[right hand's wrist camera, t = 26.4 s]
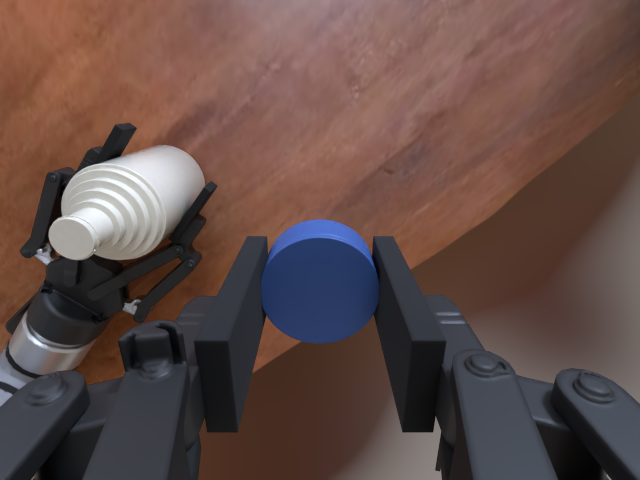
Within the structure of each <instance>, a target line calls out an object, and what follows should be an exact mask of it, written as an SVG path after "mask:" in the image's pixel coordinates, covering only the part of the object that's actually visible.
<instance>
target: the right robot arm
mask: <svg viewBox="0 0 640 480" xmlns="http://www.w3.org/2000/svg"><path fill="white" fill-rule="evenodd" d="M267 258H268V246H267V236H247V238H246V240H245V242H244V244H243V246H242V248H241V250H240V252H239V254H238V256H237V258H236V260H235V261H234V263H233V265H232V267H231V269H230V271H229V273H228V275H227V277H226V279H225V281H224V283H223V285H222V287H221V289H220V291H219V293H218V295H217V296H197V297H196V298H194V299H193V300H191V301H190V302H189V303H187V304H186V305H185V306H184V308H183V309H182V311H181V312H180V314H179V317H177V319H176V320H175V322H173V321H170V320H155V321H150V322H145V323H143V324H140V325H138V326H135V327H133V328H131V329H130V330H128V331H127V332H125V333H124V334H123V335H122V336H121V338H120V339H119V340H118V343H119V347H120V351H121V355H122V360H123V364H124V368H125V374H124V376H123V377H120V378H117V379H113V380H109V381H104V382H100V383H95V384H91V385H86V381H85V378H84V376H83V375H82V374H81V373H80V372H77V371H72V370H63V371H56V372H52V373H49V374H45V375H42V376H40V377H38V378H36V379H34V380H32V381H30V382H28V383H27V384H26V385H24V386H23V387H22V388H20V389H19V390H18V391H17V392H15V393H14V394H13V395H12V396H11V397H10V398H9V399H8V400H7V401H6V402H5V403H4V404H3V405H2V406H0V480H31V479H32V477H33V476H35V478H34V479H33V480H198V474H199V464H200V454H201V444H200V437H199V431H200V428H201V426H202V423H203V420H204V417H205V421H206V428H207V432H238V429H239V425H240V421H241V416H242V412H243V408H244V404H245V400H246V396H247V392H248V387H249V384H250V380H251V375H252V371H253V367H254V363H255V359H256V355H257V351H258V347H259V343H260V339H261V334H262V330H263V326H264V322H265V318H266V313H265V311H264V309H263V307H262V297H261V276H262V273H263V270H264V267H265V264H266V261H267ZM372 259H373V262H374V265H375V268H376V271H377V274H378V278H379V282H380V285H379V300H378V306H377V308H376V310H375V313H374V317H375V321H376V325H377V329H378V334H379V338H380V341H381V346H382V350H383V354H384V358H385V362H386V366H387V370H388V375H389V379H390V383H391V387H392V391H393V395H394V399H395V403H396V407H397V411H398V416H399V420H400V424H401V428H402V432H433V429H434V422H435V416H436V418H437V420H438V423H439V426H440V429H441V437H440V443H439V450H438V456H437V462H436V469H435V470H436V471H440V469H441V473H442V480H609V479H608V478H607V477H606V475H607V474H608V476H609V477H610V478H611V479H612V480H640V404H639V403H638V402H637V401H636V400H635V399H634V398H633V397H632V396H630V395H629V394H628V393H627V392H626V391H625V390H624V389H623V388H621V387H620V386H619V385H617V384H616V383H615V382H613V381H612V380H610V379H608V378H606V377H604V376H602V375H600V374H597V373H594V372H591V371H587V370H583V369H573V368H571V369H566V370H562V371H561V372H559V373H558V374H557V375H556V379H555V382H554V384H552V383H548V382H543V381H538V380H534V379H529V378H525V377H522V376H518V375H516V373H515V371H514V370H513V368H512V367H511V365H510V364H509V363H508V362H507V361H505V360H504V359H503V358H501V357H500V356H498V355H496V354H493V353H491V352H489V351H485V349H484V347H483V346H482V344H481V343H480V341H479V340H478V338H477V337H476V335H475V334H474V332H473V331H472V329H471V327H470V326H469V324H467V321H466V320H465V318H464V317H463V316H462V314H461V312H460V310H459V309H458V307H457V306H456V304H455V303H454V302H452V301H451V300H449V299H448V298H446V297H445V296H444V295H423V294H422V292H421V290H420V288H419V286H418V284H417V282H416V280H415V279H414V277H413V275H412V273H411V271H410V269H409V267H408V265H407V263H406V261H405V259H404V257H403V255H402V253H401V251H400V249H399V247H398V245H397V243H396V242H395V240H394V238H393V236H373V251H372Z"/></svg>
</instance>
